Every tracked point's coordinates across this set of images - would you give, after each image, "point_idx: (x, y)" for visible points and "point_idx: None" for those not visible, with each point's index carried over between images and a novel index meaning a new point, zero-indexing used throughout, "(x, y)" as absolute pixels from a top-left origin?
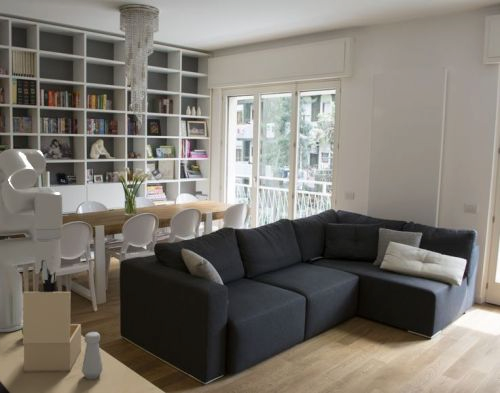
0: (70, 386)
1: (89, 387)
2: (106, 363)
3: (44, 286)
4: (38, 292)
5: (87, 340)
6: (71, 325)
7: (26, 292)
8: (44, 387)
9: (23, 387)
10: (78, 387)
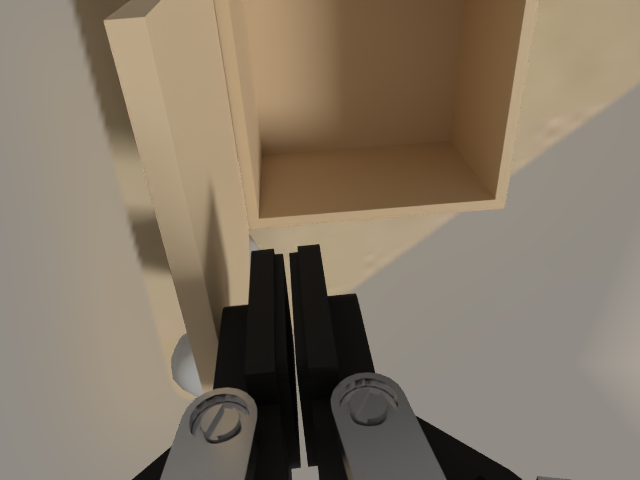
0: (138, 198)
1: (146, 259)
2: (332, 266)
3: (246, 342)
4: (167, 253)
5: (173, 353)
6: (499, 160)
7: (120, 80)
8: (106, 102)
9: (82, 5)
10: (137, 226)
